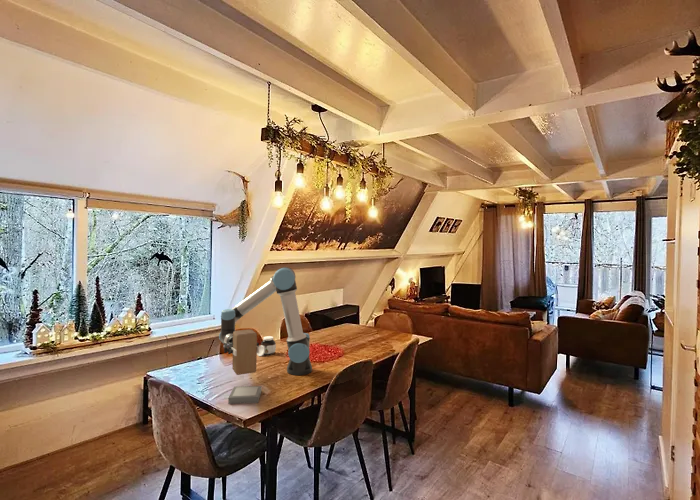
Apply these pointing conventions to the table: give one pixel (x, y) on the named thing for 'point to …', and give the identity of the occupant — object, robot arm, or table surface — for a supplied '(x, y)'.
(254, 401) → the slate base
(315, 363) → the table surface
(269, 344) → the spread jar
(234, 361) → the wooden block
